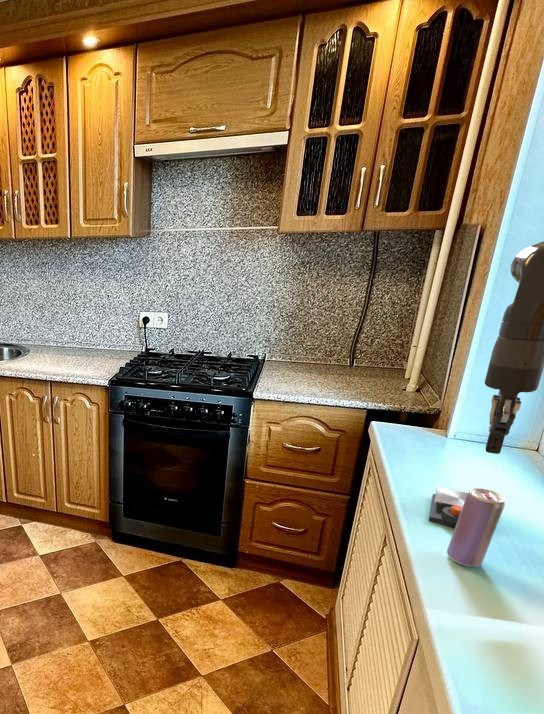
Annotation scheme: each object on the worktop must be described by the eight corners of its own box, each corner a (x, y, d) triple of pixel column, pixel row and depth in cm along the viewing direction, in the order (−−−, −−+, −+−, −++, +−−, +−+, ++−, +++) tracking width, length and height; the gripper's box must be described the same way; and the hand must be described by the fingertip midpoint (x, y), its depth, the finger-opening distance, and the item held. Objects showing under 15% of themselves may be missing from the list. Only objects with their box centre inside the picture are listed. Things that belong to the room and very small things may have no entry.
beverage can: (453, 565, 105) (477, 500, 100) (441, 548, 111) (463, 485, 105) (487, 570, 104) (513, 504, 98) (473, 553, 110) (497, 489, 104)
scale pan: (436, 488, 131) (437, 486, 131) (481, 497, 126) (482, 495, 126) (434, 502, 124) (435, 500, 124) (482, 512, 119) (482, 511, 119)
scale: (431, 498, 132) (434, 487, 131) (481, 508, 127) (484, 497, 126) (428, 523, 121) (430, 512, 120) (482, 536, 116) (485, 524, 115)
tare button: (450, 510, 121) (451, 504, 121) (465, 513, 120) (466, 507, 119) (449, 515, 119) (451, 509, 119) (465, 518, 118) (466, 512, 117)
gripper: (548, 372, 87) (519, 468, 93) (541, 357, 96) (515, 445, 102) (490, 367, 91) (467, 459, 97) (489, 353, 101) (468, 437, 107)
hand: (492, 451), depth 100 cm, fingers closed
